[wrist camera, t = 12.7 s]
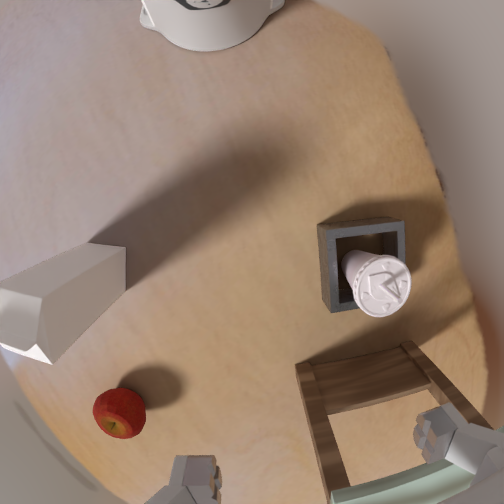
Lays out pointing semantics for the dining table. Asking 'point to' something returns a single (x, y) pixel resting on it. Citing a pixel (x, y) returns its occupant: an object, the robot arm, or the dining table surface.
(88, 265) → the milk
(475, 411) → the green-topped frame
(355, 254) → the smoothie
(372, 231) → the socket
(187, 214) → the dining table surface
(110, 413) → the apple
